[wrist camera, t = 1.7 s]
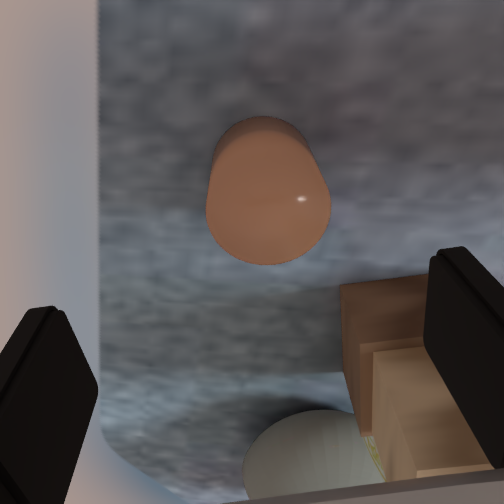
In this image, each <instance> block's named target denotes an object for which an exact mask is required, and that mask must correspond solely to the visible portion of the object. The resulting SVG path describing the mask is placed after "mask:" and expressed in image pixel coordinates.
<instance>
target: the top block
mask: <svg viewBox="0 0 504 504" xmlns="http://www.w3.org/2000/svg"><path fill="white" fill-rule="evenodd" d="M372 434H373V437H374V441H375V444H376V447H377V451H378V454H379V457H380V461H381V464H382V467H383V471H384V474H385V477H386V481H387V482H391V481H399V480H407V479H414V478H422V477H430V476H438V475H447V474H456V473H465V472H474V471H483V470H492V469H494V468H493V467H492V465H491V464H490V462H489V461H488V459H487V457H486V455H485V453H484V452H483V450H482V448H481V446H480V445H479V443H478V441H477V439H476V438H475V436H474V434H473V432H472V431H471V429H470V427H469V425H468V424H467V422H466V420H465V418H464V417H463V415H462V413H461V411H460V409H459V408H458V406H457V404H456V402H455V401H454V399H453V397H452V395H451V394H450V392H449V390H448V388H447V387H446V385H445V383H444V381H443V380H442V378H441V376H440V374H439V373H438V371H437V369H436V367H435V365H434V364H433V362H432V360H431V358H430V357H429V355H428V353H427V351H426V349H425V346H422V347H414V348H405V349H396V350H387V351H378V352H373V394H372Z"/></svg>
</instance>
